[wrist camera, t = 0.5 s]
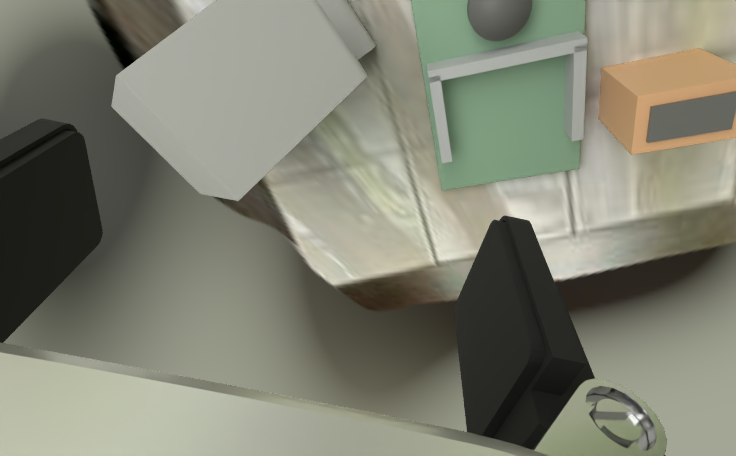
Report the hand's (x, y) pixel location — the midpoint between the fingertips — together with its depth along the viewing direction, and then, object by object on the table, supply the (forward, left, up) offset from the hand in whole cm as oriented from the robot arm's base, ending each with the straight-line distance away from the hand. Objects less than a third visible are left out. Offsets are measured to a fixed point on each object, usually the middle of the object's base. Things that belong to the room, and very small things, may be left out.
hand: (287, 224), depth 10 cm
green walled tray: (+9, +10, -35) cm, 37 cm away
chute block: (+12, +23, -35) cm, 43 cm away
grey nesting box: (+2, -11, -35) cm, 37 cm away
